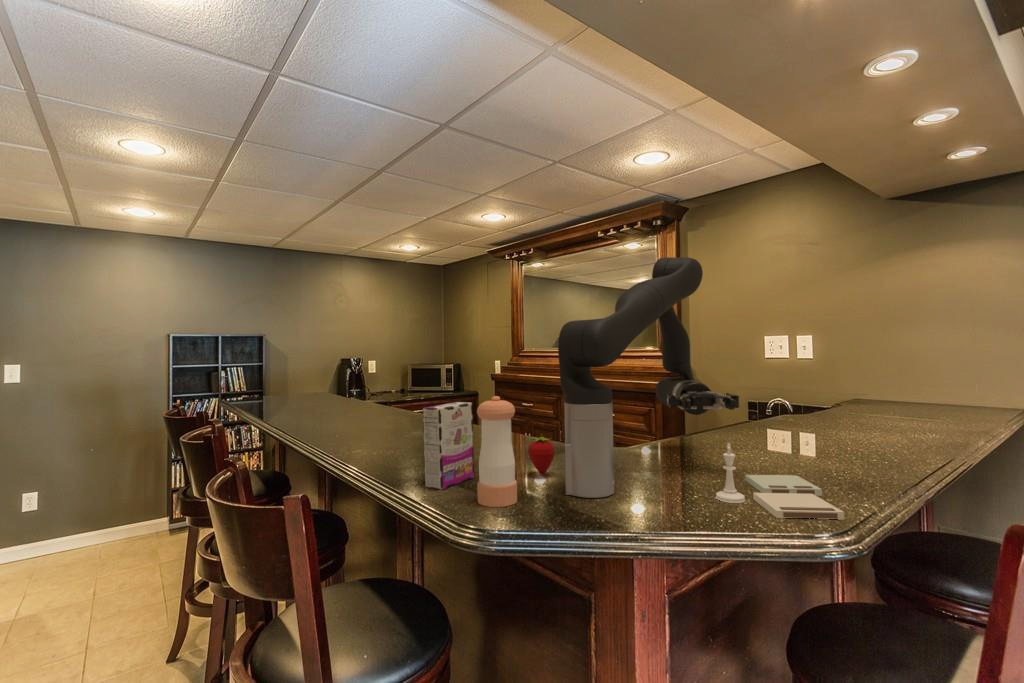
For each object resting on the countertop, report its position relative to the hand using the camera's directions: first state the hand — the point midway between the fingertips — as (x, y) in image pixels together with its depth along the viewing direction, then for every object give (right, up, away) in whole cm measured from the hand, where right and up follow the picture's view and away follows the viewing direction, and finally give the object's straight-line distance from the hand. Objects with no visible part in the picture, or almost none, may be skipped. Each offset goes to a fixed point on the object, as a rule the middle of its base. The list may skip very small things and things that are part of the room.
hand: (710, 404), depth 99 cm
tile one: (+7, -15, -18) cm, 24 cm away
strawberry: (-34, -17, +8) cm, 39 cm away
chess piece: (-1, -16, -12) cm, 20 cm away
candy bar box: (-54, -17, +3) cm, 57 cm away
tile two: (+12, -16, -5) cm, 20 cm away
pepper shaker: (-43, -17, -10) cm, 48 cm away
